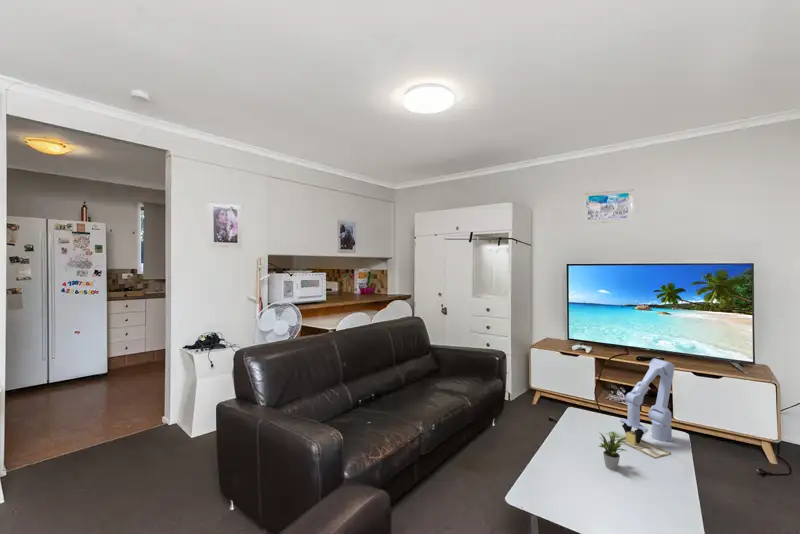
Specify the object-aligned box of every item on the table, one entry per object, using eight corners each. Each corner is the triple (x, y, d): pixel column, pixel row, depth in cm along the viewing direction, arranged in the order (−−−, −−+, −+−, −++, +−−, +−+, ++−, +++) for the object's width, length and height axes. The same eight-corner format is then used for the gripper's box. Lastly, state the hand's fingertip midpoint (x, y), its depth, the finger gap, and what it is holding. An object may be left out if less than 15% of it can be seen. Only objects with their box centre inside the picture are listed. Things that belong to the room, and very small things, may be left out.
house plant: (635, 478, 177) (635, 442, 176) (602, 474, 179) (602, 439, 179) (623, 462, 191) (624, 429, 190) (593, 459, 193) (593, 426, 193)
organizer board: (618, 430, 226) (618, 428, 226) (672, 455, 197) (672, 452, 197) (601, 434, 221) (601, 432, 221) (655, 460, 192) (655, 457, 192)
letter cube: (632, 439, 213) (632, 430, 213) (641, 443, 208) (641, 434, 208) (625, 441, 211) (625, 431, 211) (634, 445, 207) (634, 435, 206)
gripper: (616, 411, 215) (616, 436, 215) (641, 421, 201) (640, 447, 202) (625, 409, 217) (625, 433, 218) (650, 419, 204) (650, 445, 204)
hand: (633, 440), depth 210 cm, fingers closed on letter cube, 5 cm apart
